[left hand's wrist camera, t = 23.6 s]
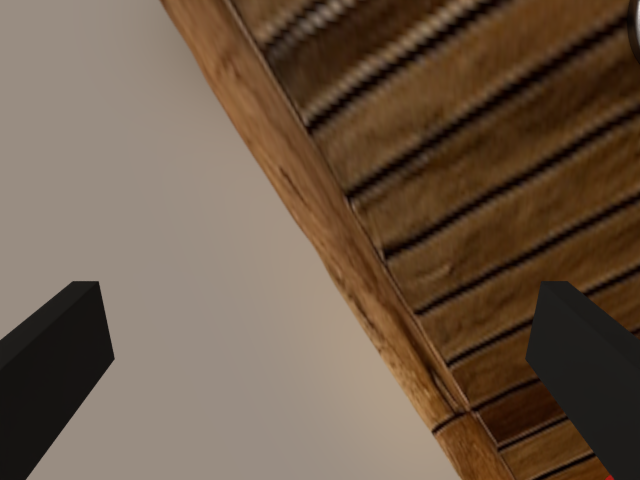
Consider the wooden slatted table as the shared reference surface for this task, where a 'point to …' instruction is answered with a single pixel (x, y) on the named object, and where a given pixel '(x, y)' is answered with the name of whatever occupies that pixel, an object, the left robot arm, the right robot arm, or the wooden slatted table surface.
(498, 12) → the wooden slatted table surface
